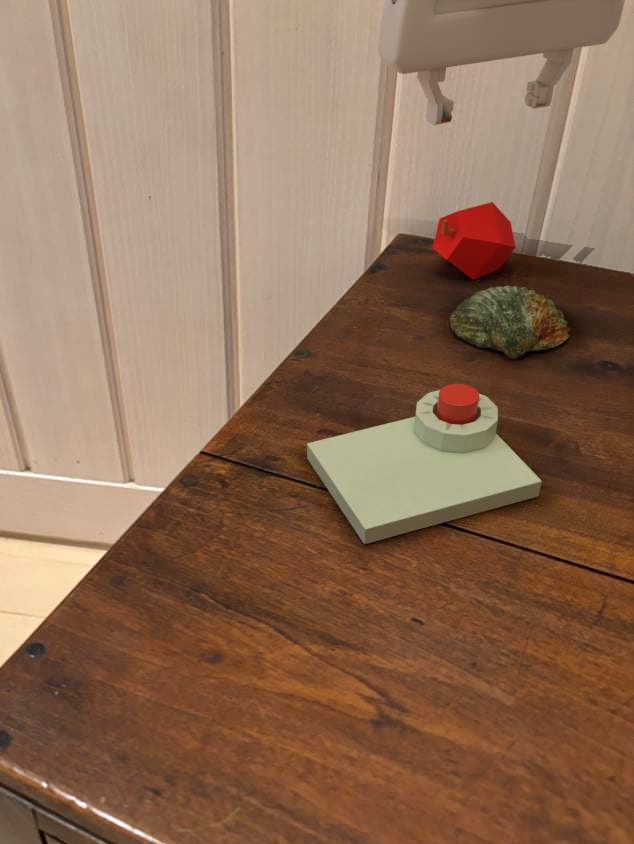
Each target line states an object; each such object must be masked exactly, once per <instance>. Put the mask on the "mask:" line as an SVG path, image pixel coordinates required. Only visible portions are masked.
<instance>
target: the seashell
mask: <svg viewBox="0 0 634 844" xmlns="http://www.w3.org/2000/svg"><path fill="white" fill-rule="evenodd" d="M449 322H450V327H451V330H452V331H453V333H454V334H455V335H456V336H457V337H458V338H460V339H462V340H464V341H465V342H467V343H468V344H471V345H473V346H476V347H478V348H481V349H490V350H491V349H492V350H494V351H499V352H502V353H503V354H505V355H506V356H507V357H508V359H512V360H516V359H518V358H519V357H520V356H523V355H524V354H525V353H528V352H532V351H545V350H549V349H553V348H556V347H558V346H559V345H562V344H564V342H566V341H567V340H568V339H569V337H570V334H569V333H568V332H570V331H571V328H570V327H568V322H567V320H565V315H564V313H563V312H562V311H561V310H559V309H557V308H556V305H555V303H554V302H553V300H552V299H546V298H545V296H544V294H539V293H538V294H537V292H536V291H535V290H534V289H530V290H529V289H528V288H527V287H525V286H522V287H520V286H518V285H514V286H511V285H505V286H500V285H499V286H494V287H492V286H491V287H488V288H486V289H483V290H482V289H481V290H479V291H477V292H475V293H474V294H472V295H470V296H469V297H467V298H465V299H464V300H463V301H462V302H461V303H459V304H458V305H457V307H456V309H455V310H453V311H452V312H451V315H450V316H449Z"/></svg>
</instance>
